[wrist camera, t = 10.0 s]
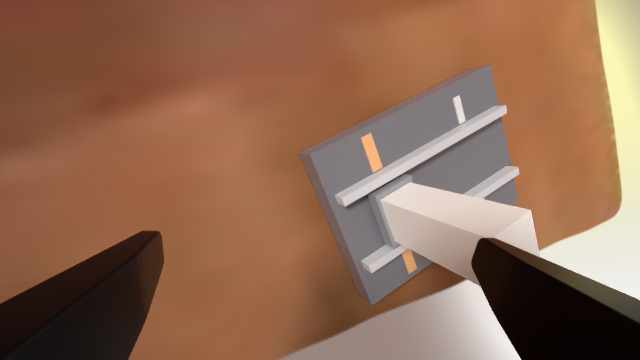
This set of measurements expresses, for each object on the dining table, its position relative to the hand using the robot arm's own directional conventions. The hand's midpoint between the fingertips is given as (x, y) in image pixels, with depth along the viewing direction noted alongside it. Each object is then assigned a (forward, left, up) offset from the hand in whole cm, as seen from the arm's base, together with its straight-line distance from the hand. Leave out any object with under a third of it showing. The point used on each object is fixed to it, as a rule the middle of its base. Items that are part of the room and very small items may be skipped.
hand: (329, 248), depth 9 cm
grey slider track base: (+8, -11, -12) cm, 18 cm away
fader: (+4, -9, -10) cm, 14 cm away
